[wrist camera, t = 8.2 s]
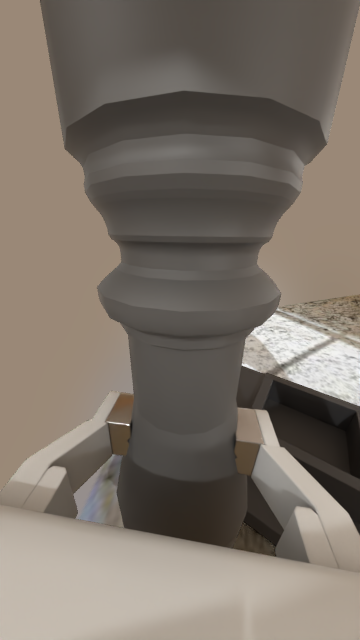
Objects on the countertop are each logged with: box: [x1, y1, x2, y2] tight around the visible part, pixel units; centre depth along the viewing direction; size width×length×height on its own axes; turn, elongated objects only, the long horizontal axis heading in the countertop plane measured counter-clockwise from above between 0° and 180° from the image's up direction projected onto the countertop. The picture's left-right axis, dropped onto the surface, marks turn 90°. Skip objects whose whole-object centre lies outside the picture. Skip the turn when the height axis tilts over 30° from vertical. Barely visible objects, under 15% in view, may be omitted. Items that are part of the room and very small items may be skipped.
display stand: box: [236, 366, 360, 546], centre depth 20 cm, size 18×18×4 cm
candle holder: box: [40, 0, 360, 548], centre depth 9 cm, size 6×6×25 cm
